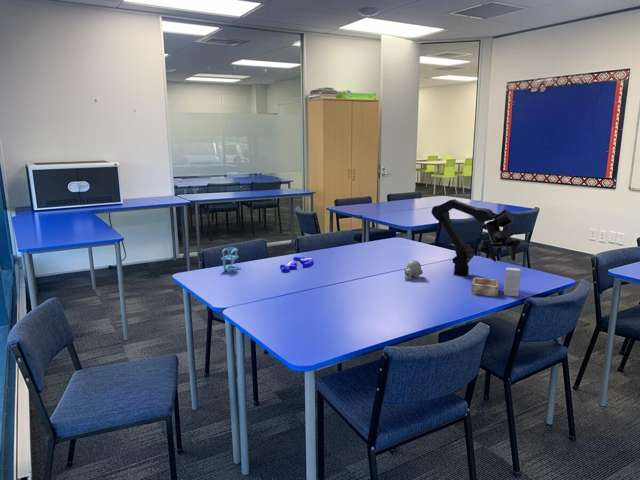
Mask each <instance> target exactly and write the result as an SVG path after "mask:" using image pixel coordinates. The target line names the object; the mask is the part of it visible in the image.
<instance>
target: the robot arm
mask: <svg viewBox="0 0 640 480" xmlns="http://www.w3.org/2000/svg"><path fill="white" fill-rule="evenodd" d="M452 209H453V210H456V211H459V212H461V213H465V214H467V215H470V216H472V217H473V219H475V220H476V221H478V222H480V223H483V225H482V226H481V229H483V230H486V231H487V234H488V237H487V238H488V239H485V240H483V239H482V240H481V242H480V243H479V244H478V247H477V250H478V252H481V253H482V254H483V253H484V254H485V255H486V256H487V257H489V258H490V259H491V260H492V261H493V262H495V263H496V261H497V259H496V255H495V252H494V250H493V249H494V248H506V249H507V252H508V255H509V256H510V259H511V260H512V261H513V262H514V261H516V250H517V249H518V248H519V247H520V246H521V244H522V243H521V240H520V239H518V238H514V239H513V238H512V239H510V240H509V242H507V241H508V238H511V237H513V236H514V230H513V229H512V228H508V229H504V230H503V229H501V228H505V227H507V226H509V225H511V224H512V223H514V222H515V221H516V220H515V217H514V215H513V214H512V213H511V212H509V211H508V210H507V209H503V210H502V211H501V212H499V213H495V212H493V210H492V209H489V208H485V207H484V208H483V207H476V206H473V205H470V204H468V203H464V202H462V201H459V200H457V199H455V198H454V199H448V200H447V201H445V202H444V203H441V204H438V205H435V206H433V207H432V209H431V215H432V216H433V218H435V220H436V221H438V222H439V223H440V224H441V225H442V227H443V229H444V230H445V232H446V234H447V236H448V237H449V238H450V240H451V243H452V244H453V246H454V250H455V252H454V253H455V256H454V257H453V258H452V260H451V261H452V264H454V265H453V266H454V269H453V270H454V271H453V276H459V277H460V276H461V277H467V275H469V271H470V270H469V269H470V265H469V262H471V260H472V259H473V258H474V255H475V253H474V248H473V247H472V246H471V244H470V243H467V244H466V243H465V242H464V240H463V239H462V237H461V235H460V234H459V232H458V231H457V228H456V227H455V225H454V223H453V221H452V219H451V218H450V217H451V216H450V211H451V210H452Z"/></svg>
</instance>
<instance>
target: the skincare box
mask: <svg viewBox="0 0 640 480" xmlns="http://www.w3.org/2000/svg"><path fill="white" fill-rule="evenodd" d="M521 271H522V270H521V268H520V267H518V268H517V267H506V266H505V272H504V283H503V284H504V285H503V295H504V296H509V297H519V294H520V284H521V283H520V281H521Z"/></svg>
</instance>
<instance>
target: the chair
mask: <svg viewBox="0 0 640 480" xmlns="http://www.w3.org/2000/svg"><path fill="white" fill-rule="evenodd" d="M225 251H227V255H225ZM234 253H235V254H234ZM221 254H222V257H221V258H220V259H221V260H222V266H223V272H227V273H231V272H234V271H238V270H240V269H241V268H242V267H241V266H235V265H233V264H234V262H235V261H236V260H237V259H238V258H239V255H238V248H237V247H234V246H229V247H225V248H224V249H223V250H222V251H221ZM233 254H234V255H233ZM227 260H228V261H231V262H230V265H226V261H227Z"/></svg>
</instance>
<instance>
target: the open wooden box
mask: <svg viewBox="0 0 640 480" xmlns="http://www.w3.org/2000/svg"><path fill="white" fill-rule="evenodd" d="M499 282H500V281H499V279H494V278H493V279H492V278H483V277H475V276H474V277H473V279H472V282H471V288H470V289H471V290H470V291H471V292H470V294H472V295H480V296H488V297H497V298H498V294H499V293H498V292H499V291H498V290H499Z"/></svg>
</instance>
